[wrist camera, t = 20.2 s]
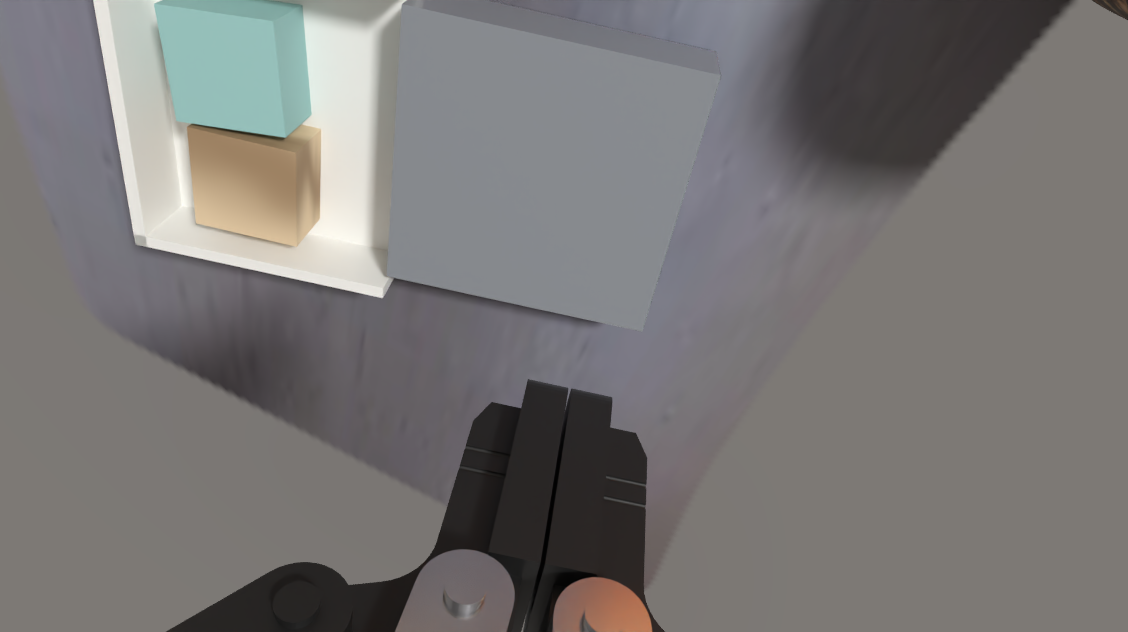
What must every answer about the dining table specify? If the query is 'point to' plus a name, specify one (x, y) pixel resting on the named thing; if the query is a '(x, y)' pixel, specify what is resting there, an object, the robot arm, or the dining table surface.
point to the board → (541, 156)
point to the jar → (1115, 6)
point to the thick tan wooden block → (256, 181)
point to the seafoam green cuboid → (236, 63)
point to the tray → (339, 108)
